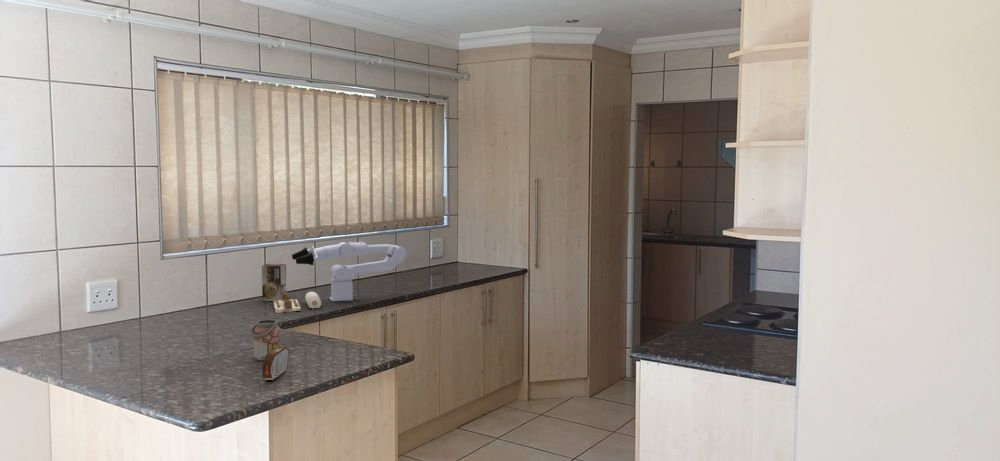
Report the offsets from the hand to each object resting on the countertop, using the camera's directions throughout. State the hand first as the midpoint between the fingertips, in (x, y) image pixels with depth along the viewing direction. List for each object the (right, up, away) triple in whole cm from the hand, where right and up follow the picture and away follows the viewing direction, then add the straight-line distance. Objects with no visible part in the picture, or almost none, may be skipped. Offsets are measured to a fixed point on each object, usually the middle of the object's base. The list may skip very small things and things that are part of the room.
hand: (294, 259), depth 323 cm
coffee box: (-11, -19, +8) cm, 23 cm away
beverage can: (+16, -29, -87) cm, 93 cm away
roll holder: (-1, -20, -9) cm, 22 cm away
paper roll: (+10, -20, -5) cm, 23 cm away
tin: (+25, -31, -106) cm, 113 cm away
